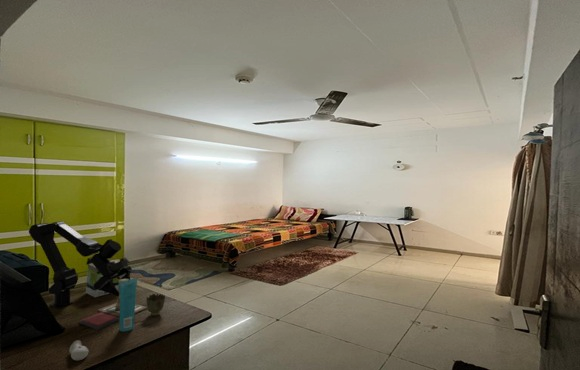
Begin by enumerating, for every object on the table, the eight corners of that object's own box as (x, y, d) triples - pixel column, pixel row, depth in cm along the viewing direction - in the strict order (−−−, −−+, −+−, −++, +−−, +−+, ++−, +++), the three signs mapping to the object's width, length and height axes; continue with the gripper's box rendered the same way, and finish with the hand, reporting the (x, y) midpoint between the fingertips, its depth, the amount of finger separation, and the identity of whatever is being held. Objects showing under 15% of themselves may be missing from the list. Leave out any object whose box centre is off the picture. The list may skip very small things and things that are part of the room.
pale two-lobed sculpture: (87, 363, 96) (68, 364, 93) (83, 351, 102) (66, 352, 99) (92, 349, 97) (74, 349, 94) (89, 338, 103) (71, 338, 100)
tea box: (95, 298, 144) (96, 267, 144) (85, 293, 150) (86, 263, 150) (126, 289, 157) (127, 261, 157) (116, 285, 162) (117, 258, 162)
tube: (130, 323, 121) (132, 276, 121) (139, 326, 119) (141, 278, 119) (113, 331, 114) (115, 281, 114) (122, 334, 112) (124, 283, 112)
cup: (157, 319, 125) (157, 300, 125) (141, 317, 127) (142, 298, 127) (167, 312, 132) (168, 294, 132) (153, 310, 134) (153, 292, 134)
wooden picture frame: (97, 311, 131) (97, 309, 131) (122, 301, 142) (122, 300, 142) (123, 319, 124) (123, 317, 124) (147, 308, 135) (147, 306, 135)
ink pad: (79, 323, 119) (79, 319, 119) (101, 314, 127) (101, 311, 127) (97, 329, 115) (97, 326, 115) (119, 320, 123) (119, 316, 123)
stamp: (115, 311, 130) (116, 282, 130) (117, 306, 134) (118, 278, 134) (128, 309, 132) (129, 281, 132) (129, 305, 136) (130, 278, 136)
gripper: (101, 258, 124) (125, 287, 123) (129, 248, 143) (150, 273, 142) (82, 275, 125) (106, 304, 124) (112, 264, 143) (133, 288, 142)
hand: (125, 291), depth 133 cm, fingers open, 9 cm apart
